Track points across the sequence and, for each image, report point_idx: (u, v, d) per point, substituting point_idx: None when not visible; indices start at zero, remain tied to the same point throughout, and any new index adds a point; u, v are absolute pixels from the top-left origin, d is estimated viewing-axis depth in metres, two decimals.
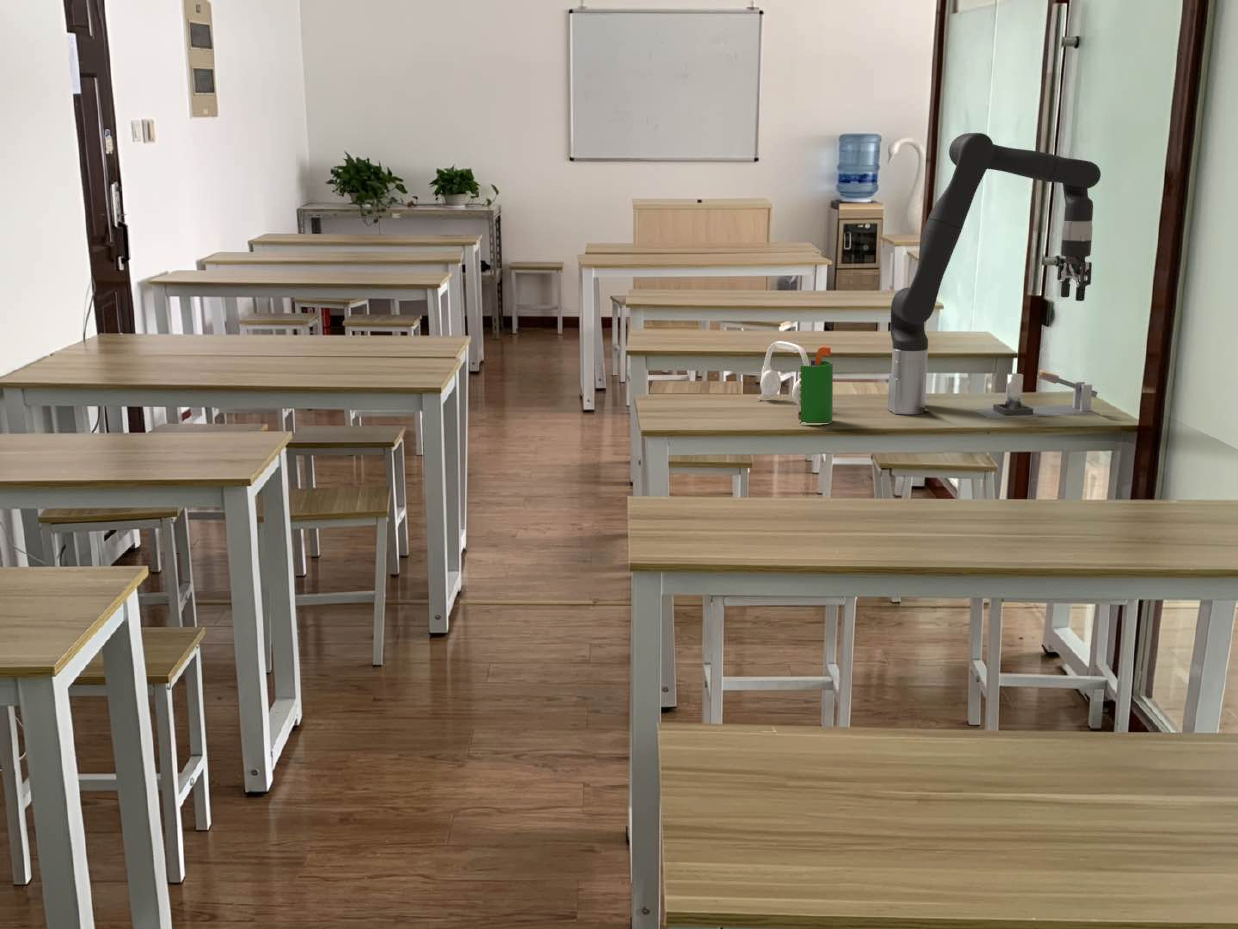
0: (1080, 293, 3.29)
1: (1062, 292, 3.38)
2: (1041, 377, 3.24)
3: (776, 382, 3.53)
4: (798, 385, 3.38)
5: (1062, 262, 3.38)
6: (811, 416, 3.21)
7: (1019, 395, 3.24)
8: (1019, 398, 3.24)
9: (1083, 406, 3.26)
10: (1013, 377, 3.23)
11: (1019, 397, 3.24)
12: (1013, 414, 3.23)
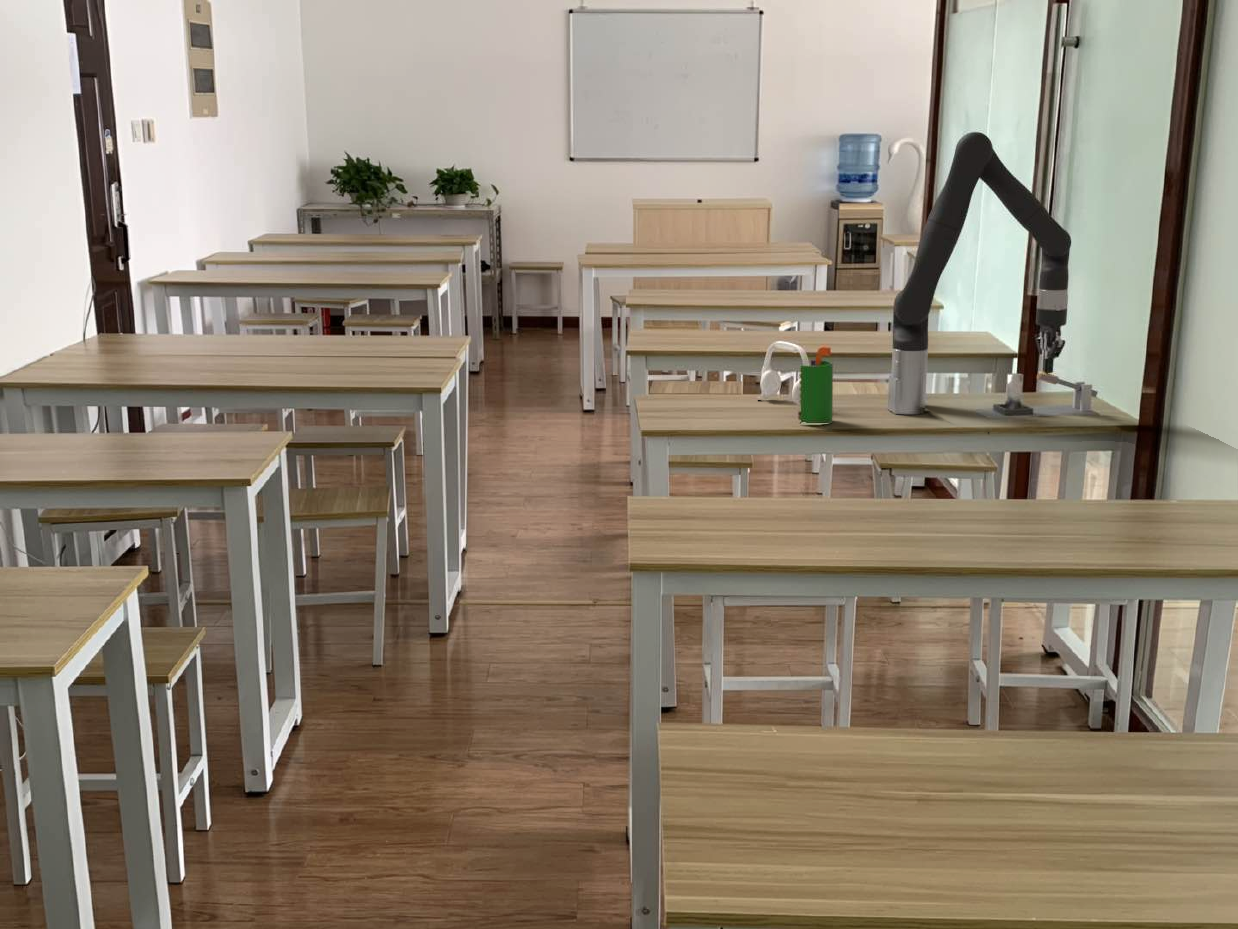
0: (1048, 365, 3.23)
1: None
2: (1041, 378, 3.25)
3: (776, 382, 3.53)
4: (798, 385, 3.38)
5: (1039, 336, 3.28)
6: (811, 416, 3.21)
7: (1019, 395, 3.24)
8: (1019, 398, 3.24)
9: (1083, 406, 3.26)
10: (1013, 377, 3.23)
11: (1019, 397, 3.24)
12: (1013, 414, 3.23)
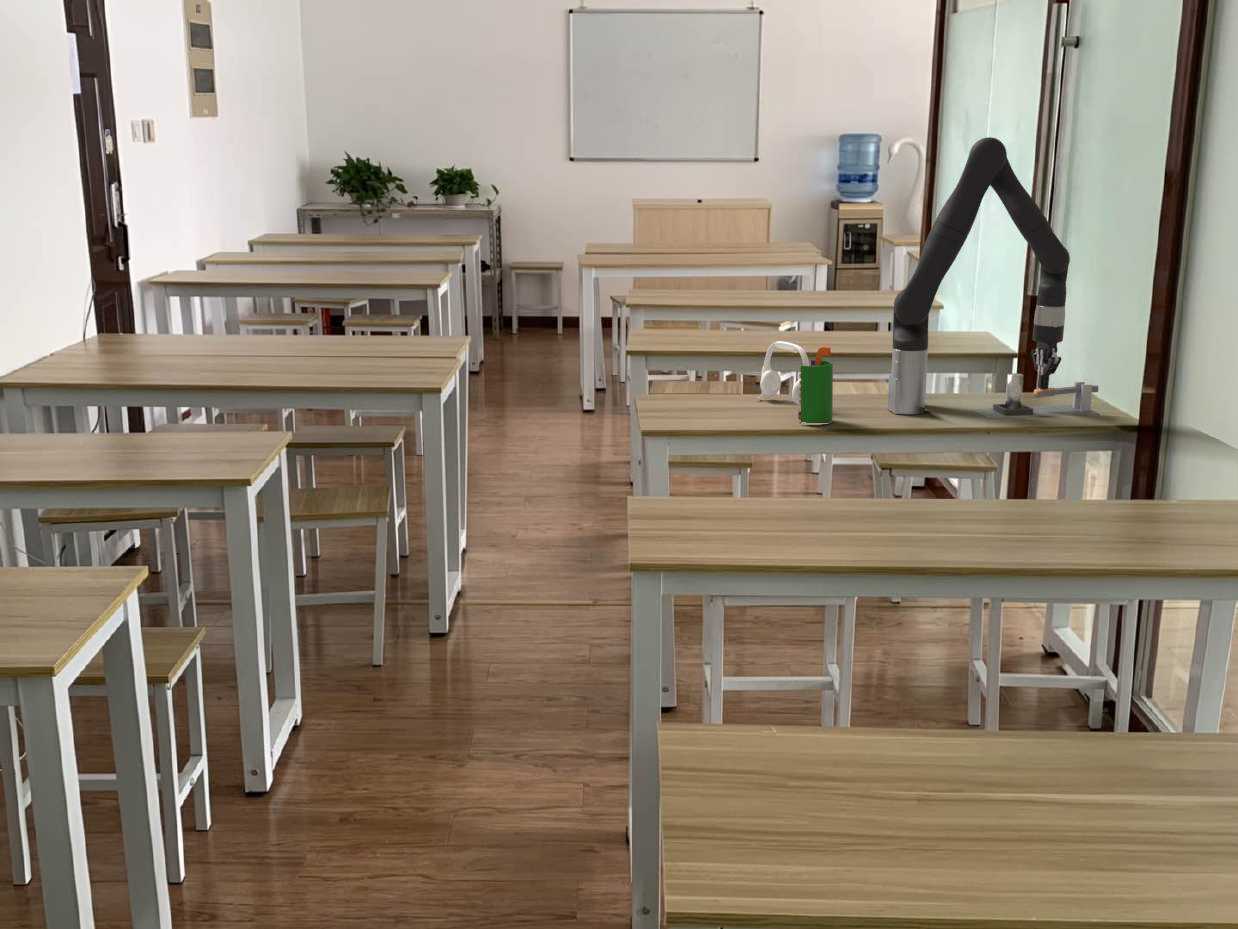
0: (1044, 381, 3.24)
1: (1039, 383, 3.26)
2: (1038, 396, 3.26)
3: (776, 382, 3.53)
4: (798, 385, 3.38)
5: (1035, 352, 3.28)
6: (811, 416, 3.21)
7: (1019, 395, 3.24)
8: (1019, 398, 3.24)
9: (1083, 406, 3.26)
10: (1013, 377, 3.23)
11: (1019, 397, 3.24)
12: (1013, 414, 3.23)
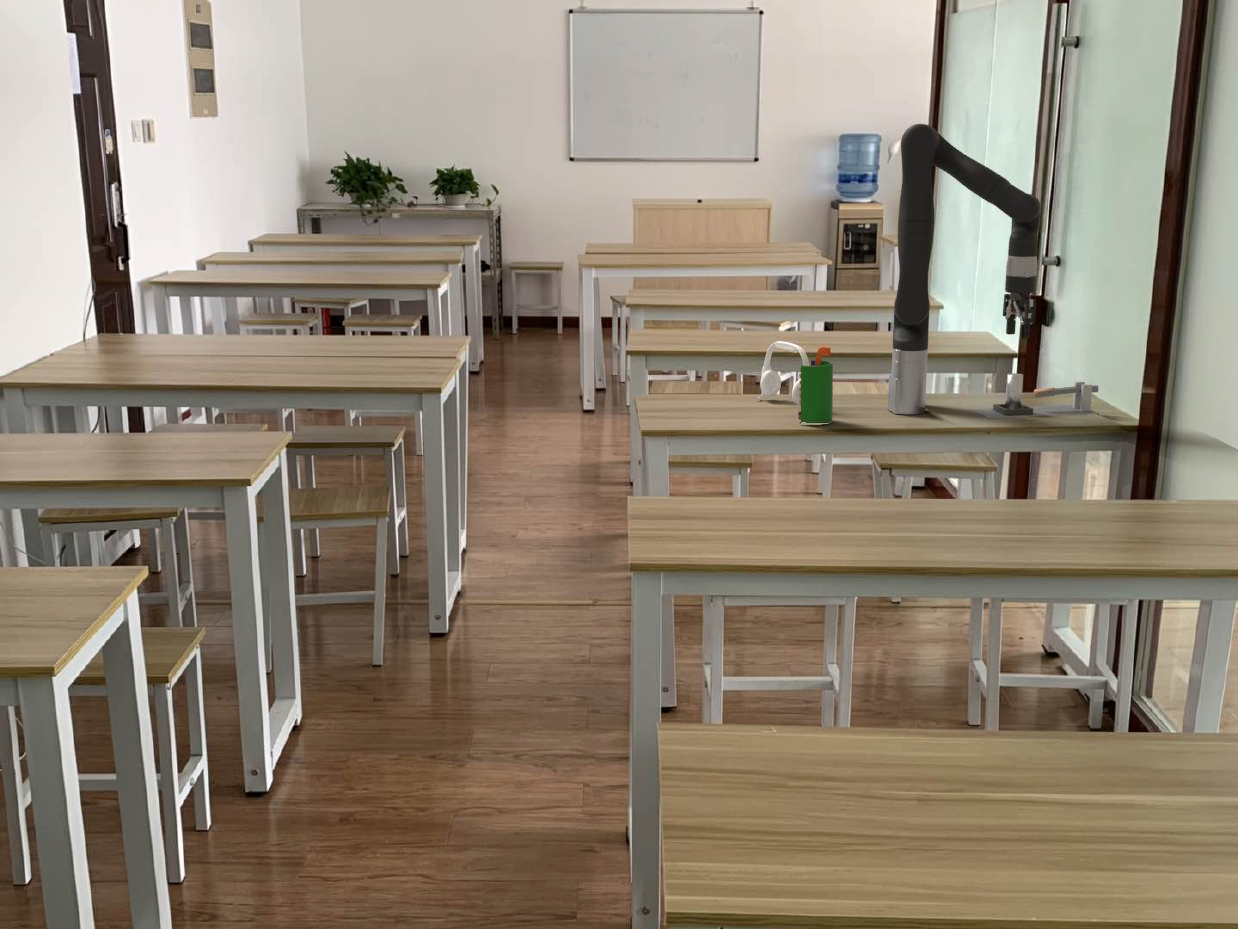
0: (1024, 331, 3.16)
1: (1007, 329, 3.25)
2: (1038, 396, 3.26)
3: (776, 382, 3.53)
4: (798, 385, 3.38)
5: (1007, 298, 3.25)
6: (811, 416, 3.21)
7: (1019, 395, 3.24)
8: (1019, 398, 3.24)
9: (1083, 406, 3.26)
10: (1013, 377, 3.23)
11: (1019, 397, 3.24)
12: (1013, 414, 3.23)
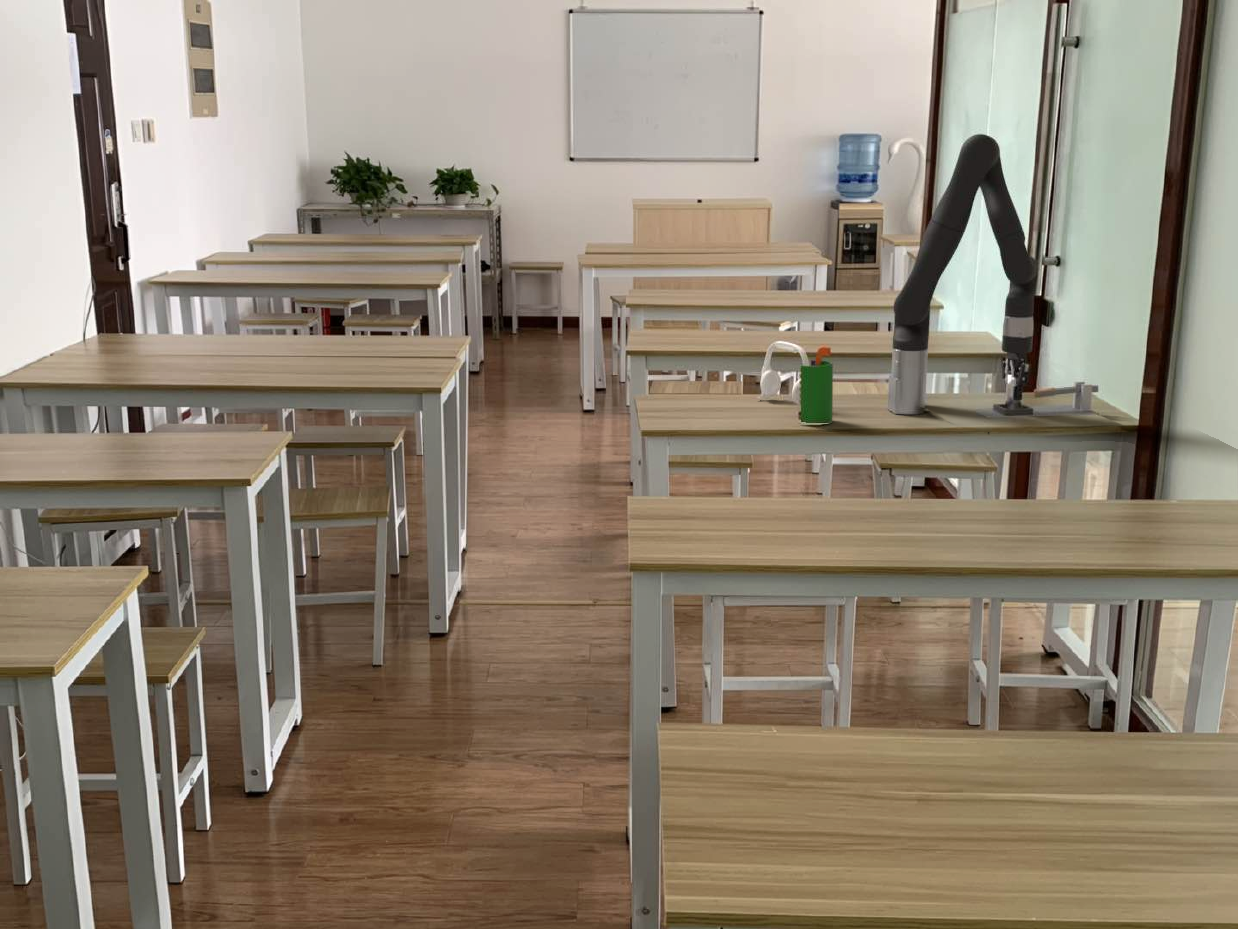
0: (1017, 393, 3.22)
1: None
2: (1038, 396, 3.26)
3: (776, 382, 3.53)
4: (798, 385, 3.38)
5: (1004, 360, 3.29)
6: (811, 416, 3.21)
7: None
8: None
9: (1083, 406, 3.26)
10: None
11: None
12: (1013, 414, 3.23)
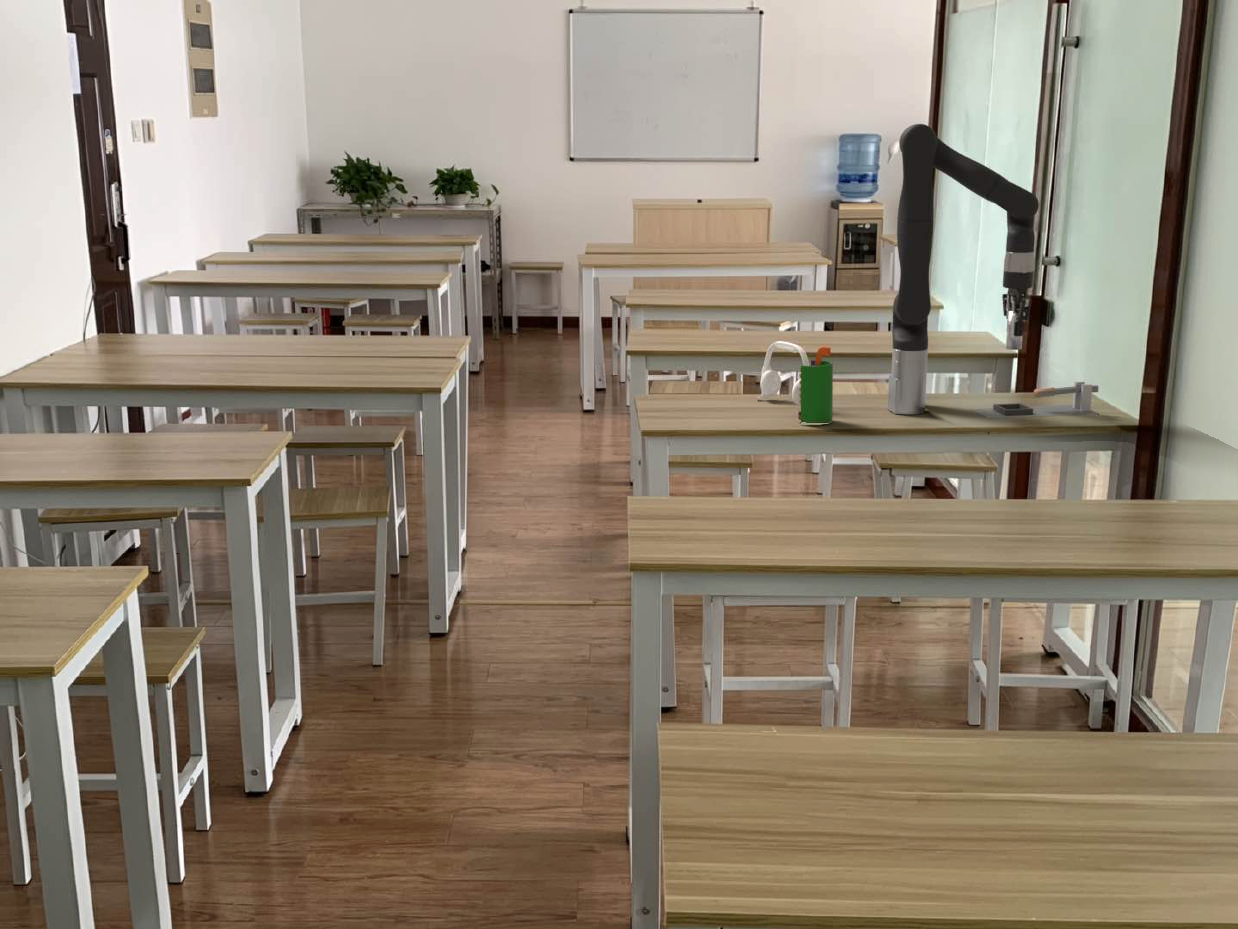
0: (1018, 328, 3.24)
1: None
2: (1038, 396, 3.26)
3: (776, 382, 3.53)
4: (798, 385, 3.38)
5: (1006, 297, 3.30)
6: (811, 416, 3.21)
7: None
8: None
9: (1083, 406, 3.26)
10: None
11: None
12: (1013, 414, 3.23)
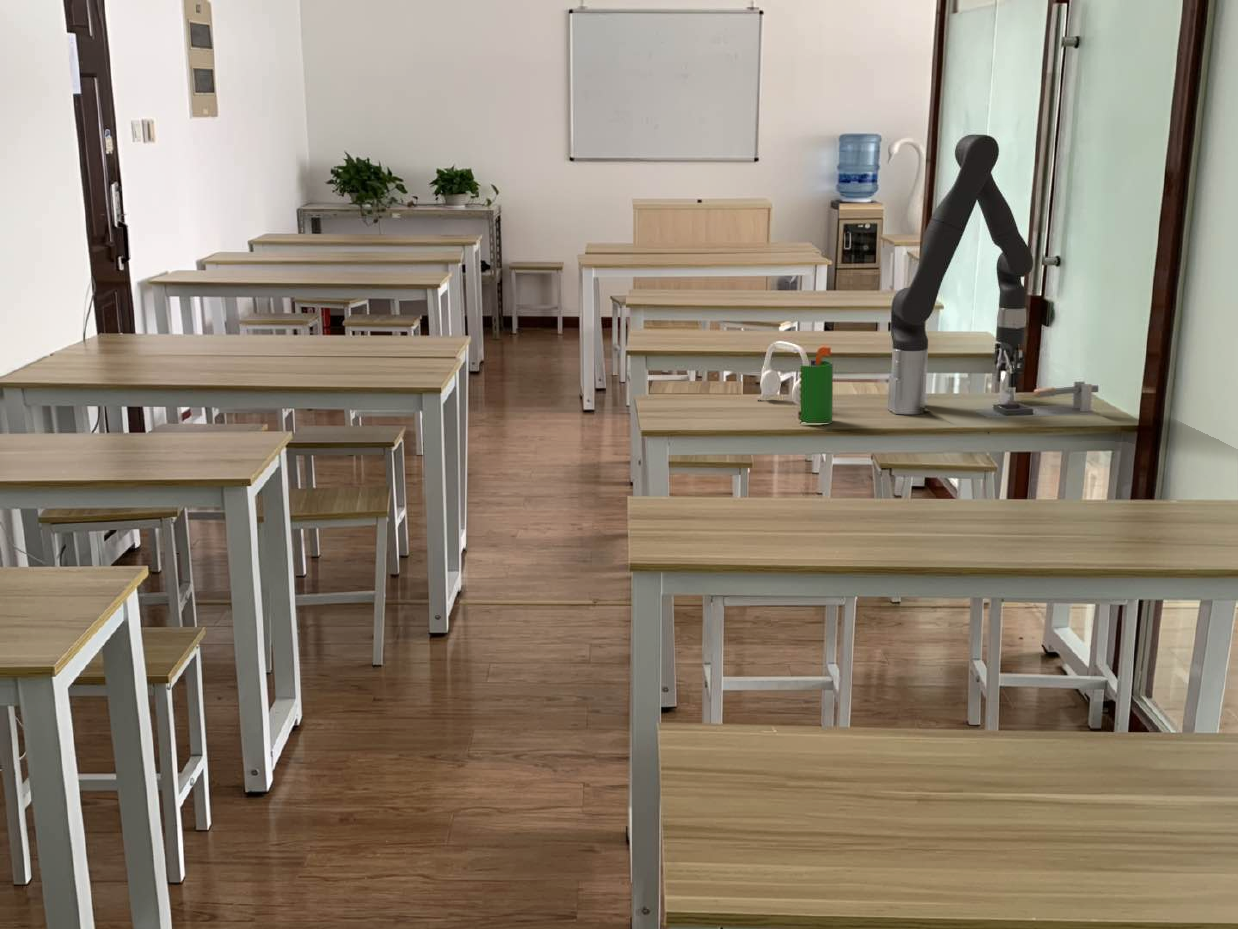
0: (1014, 380, 3.33)
1: (999, 377, 3.42)
2: (1038, 396, 3.26)
3: (776, 382, 3.53)
4: (798, 385, 3.38)
5: (998, 347, 3.42)
6: (811, 416, 3.21)
7: (1012, 391, 3.37)
8: (1012, 394, 3.37)
9: (1083, 406, 3.26)
10: (1006, 374, 3.36)
11: (1012, 392, 3.37)
12: (1013, 414, 3.23)
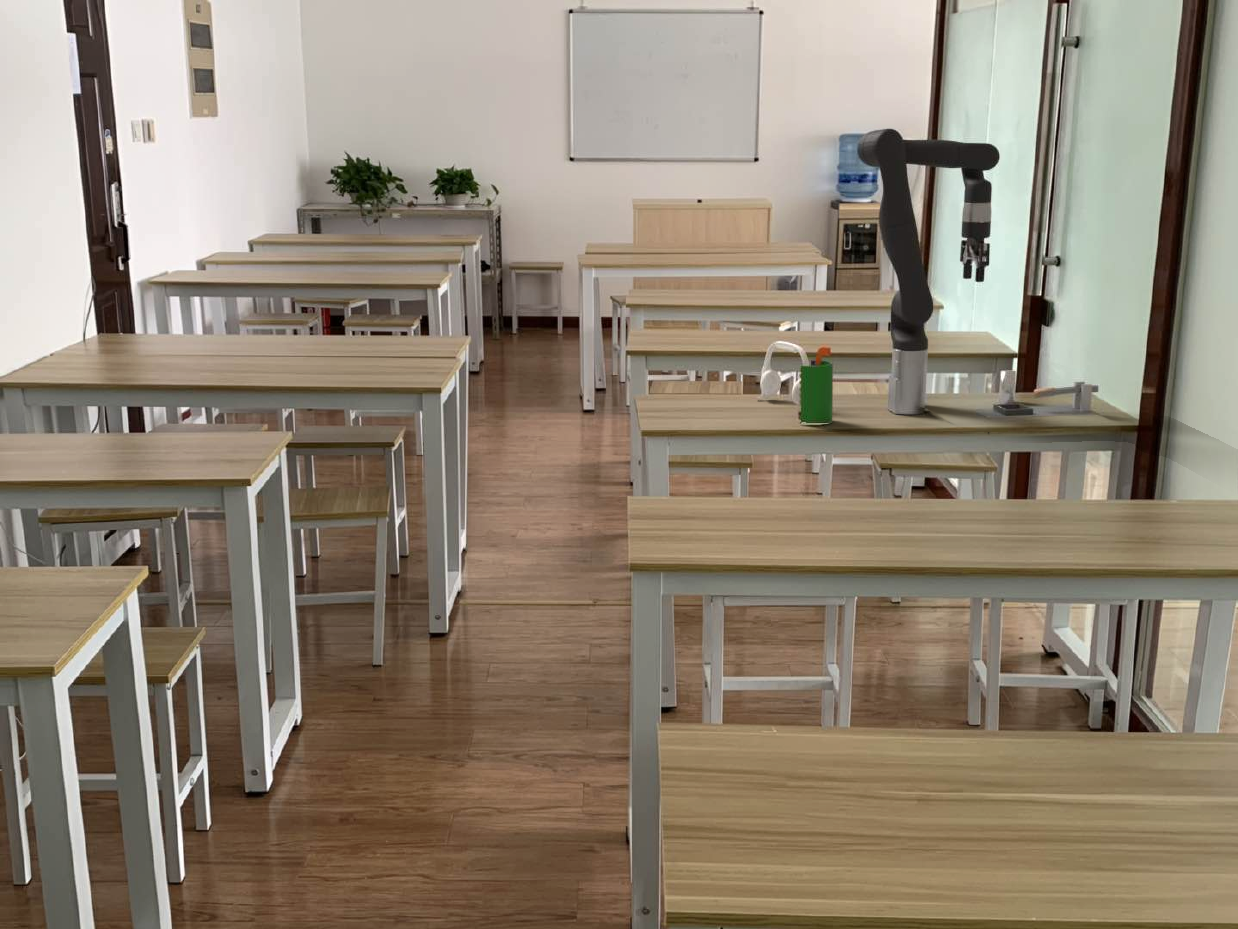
0: (979, 274, 3.33)
1: (964, 274, 3.42)
2: (1038, 396, 3.26)
3: (776, 382, 3.53)
4: (798, 385, 3.38)
5: (964, 244, 3.42)
6: (811, 416, 3.21)
7: (1012, 391, 3.37)
8: (1012, 394, 3.37)
9: (1083, 406, 3.26)
10: (1006, 374, 3.36)
11: (1012, 392, 3.37)
12: (1013, 414, 3.23)
